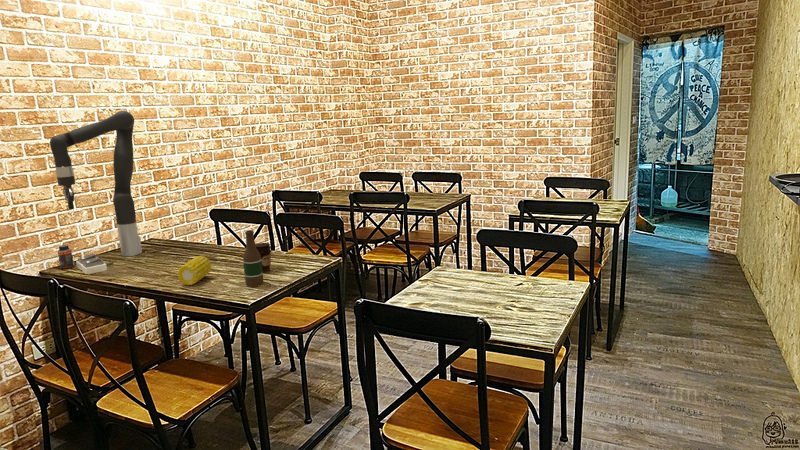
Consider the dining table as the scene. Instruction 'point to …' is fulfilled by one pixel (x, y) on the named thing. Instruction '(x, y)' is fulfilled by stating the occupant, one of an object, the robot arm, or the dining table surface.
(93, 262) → the rocker
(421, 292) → the dining table surface
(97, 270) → the rocker switch panel
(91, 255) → the rocker
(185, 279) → the food
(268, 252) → the coffee cup
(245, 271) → the beer bottle
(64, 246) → the supplement bottle
